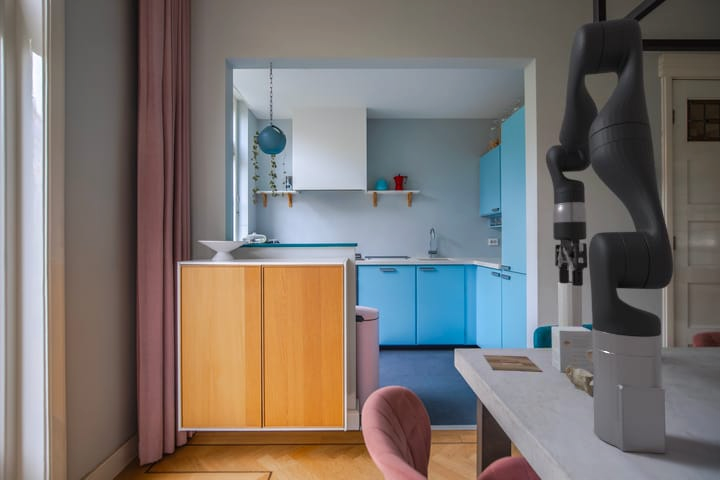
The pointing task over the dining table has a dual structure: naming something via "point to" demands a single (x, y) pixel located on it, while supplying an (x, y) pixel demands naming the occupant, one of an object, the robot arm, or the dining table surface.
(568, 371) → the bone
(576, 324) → the paper towel roll
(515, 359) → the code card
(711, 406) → the dining table surface
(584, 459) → the dining table surface
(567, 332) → the small box
